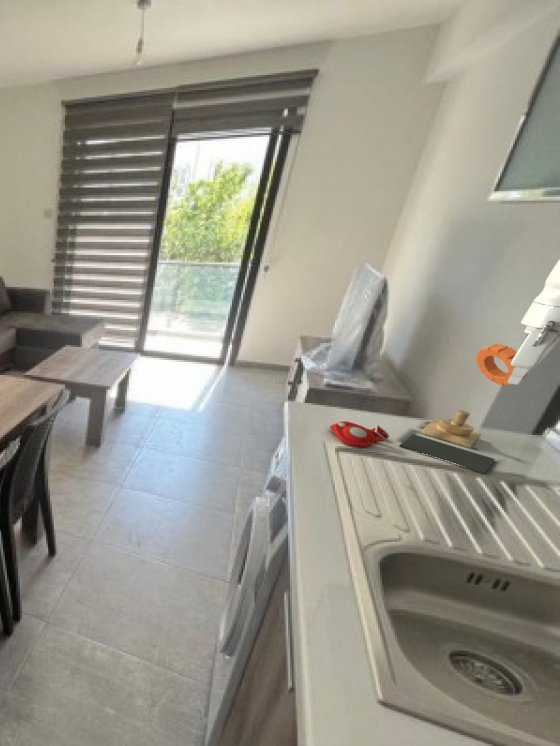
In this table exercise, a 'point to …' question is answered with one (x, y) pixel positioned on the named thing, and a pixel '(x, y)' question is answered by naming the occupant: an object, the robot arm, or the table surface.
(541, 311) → the robot arm
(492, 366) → the ring
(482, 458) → the mat
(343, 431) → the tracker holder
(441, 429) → the stand
